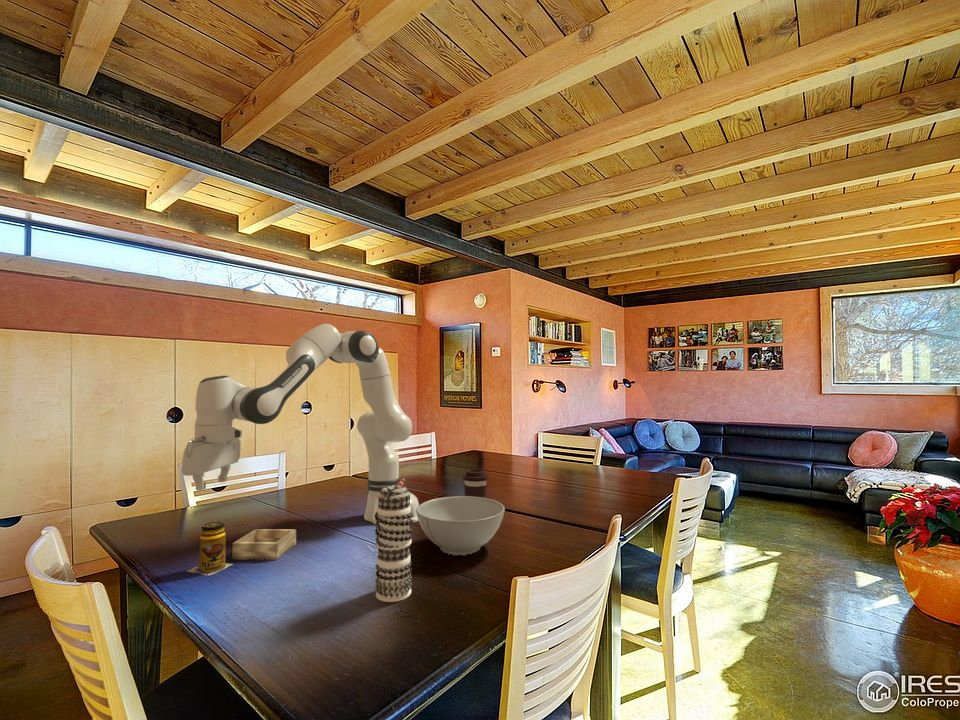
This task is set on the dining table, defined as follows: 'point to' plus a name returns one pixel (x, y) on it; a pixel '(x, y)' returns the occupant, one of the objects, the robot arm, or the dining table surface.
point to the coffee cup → (475, 483)
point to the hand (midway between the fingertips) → (212, 485)
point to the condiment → (212, 549)
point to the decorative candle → (393, 544)
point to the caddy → (264, 544)
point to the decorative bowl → (460, 522)
